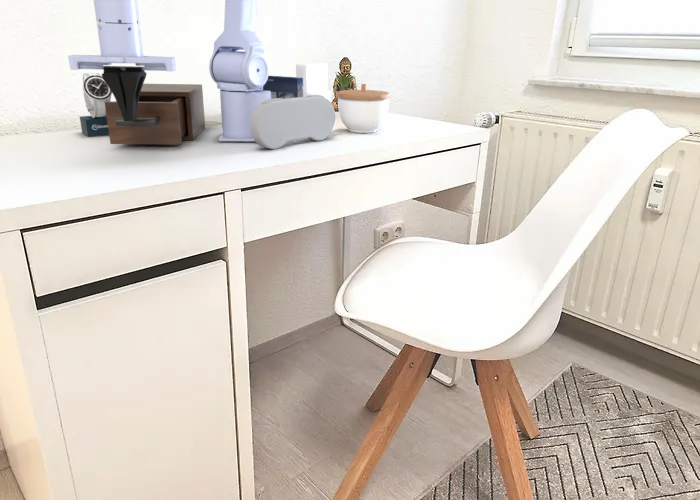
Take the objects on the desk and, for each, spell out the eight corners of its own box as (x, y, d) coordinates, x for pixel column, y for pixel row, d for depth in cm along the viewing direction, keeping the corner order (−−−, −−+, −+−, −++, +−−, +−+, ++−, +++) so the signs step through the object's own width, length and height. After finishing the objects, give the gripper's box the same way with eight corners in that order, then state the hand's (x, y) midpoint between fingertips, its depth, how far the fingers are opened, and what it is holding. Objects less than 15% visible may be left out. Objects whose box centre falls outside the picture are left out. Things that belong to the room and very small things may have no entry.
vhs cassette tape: (228, 119, 124) (225, 73, 120) (236, 118, 127) (233, 73, 123) (297, 127, 117) (296, 78, 113) (304, 125, 119) (304, 77, 116)
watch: (90, 138, 100) (81, 75, 96) (79, 131, 106) (70, 72, 101) (122, 135, 103) (114, 74, 99) (110, 129, 109) (102, 71, 105)
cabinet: (193, 140, 100) (189, 92, 97) (122, 140, 99) (115, 90, 96) (205, 127, 114) (202, 84, 110) (142, 126, 112) (137, 83, 109)
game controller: (326, 136, 107) (327, 92, 104) (335, 138, 106) (336, 93, 103) (249, 150, 93) (247, 100, 90) (258, 152, 92) (256, 101, 89)
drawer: (175, 150, 88) (171, 106, 85) (101, 149, 87) (95, 105, 84) (194, 130, 104) (191, 94, 102) (132, 130, 103) (127, 93, 101)
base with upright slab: (317, 120, 126) (317, 65, 121) (285, 117, 130) (284, 63, 125) (337, 116, 133) (338, 64, 128) (307, 113, 137) (307, 62, 133)
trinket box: (328, 132, 112) (329, 84, 108) (348, 124, 121) (349, 80, 118) (378, 136, 108) (380, 87, 105) (394, 129, 117) (396, 83, 114)
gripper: (53, 21, 74) (70, 123, 79) (164, 24, 75) (173, 124, 80) (73, 22, 80) (87, 116, 85) (174, 25, 82) (182, 117, 87)
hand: (130, 120), depth 83 cm, fingers closed
